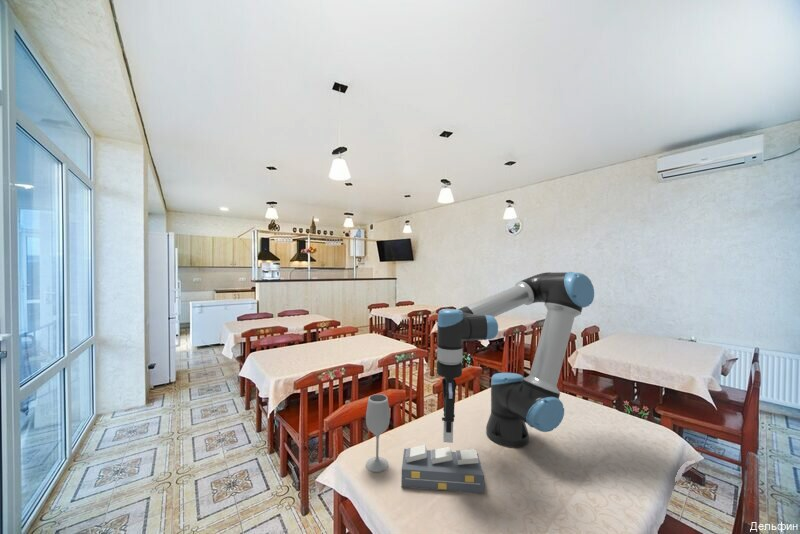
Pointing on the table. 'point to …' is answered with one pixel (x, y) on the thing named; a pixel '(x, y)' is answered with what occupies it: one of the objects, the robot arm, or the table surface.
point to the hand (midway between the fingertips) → (448, 441)
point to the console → (442, 475)
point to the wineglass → (377, 427)
